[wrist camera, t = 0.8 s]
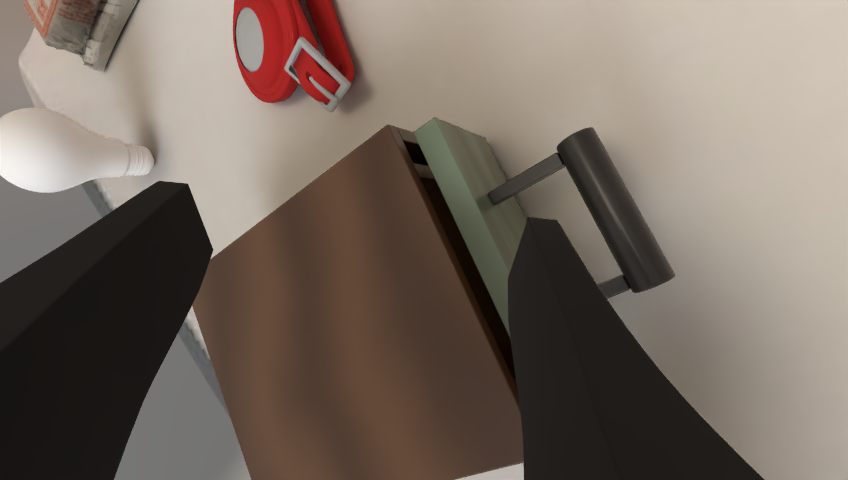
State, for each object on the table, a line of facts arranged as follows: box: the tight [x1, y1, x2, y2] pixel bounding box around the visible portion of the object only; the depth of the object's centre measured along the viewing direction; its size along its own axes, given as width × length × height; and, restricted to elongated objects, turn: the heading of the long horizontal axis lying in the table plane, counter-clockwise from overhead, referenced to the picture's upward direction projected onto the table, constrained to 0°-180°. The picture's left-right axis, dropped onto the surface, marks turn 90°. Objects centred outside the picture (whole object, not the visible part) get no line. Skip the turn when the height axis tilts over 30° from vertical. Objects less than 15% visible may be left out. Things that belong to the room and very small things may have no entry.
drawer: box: [413, 118, 675, 386], centre depth 23 cm, size 20×13×6 cm, turn 118°
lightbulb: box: [0, 108, 154, 193], centre depth 35 cm, size 6×6×11 cm
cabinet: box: [192, 125, 524, 480], centre depth 25 cm, size 16×14×7 cm
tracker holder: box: [233, 0, 354, 112], centre depth 29 cm, size 12×4×10 cm
